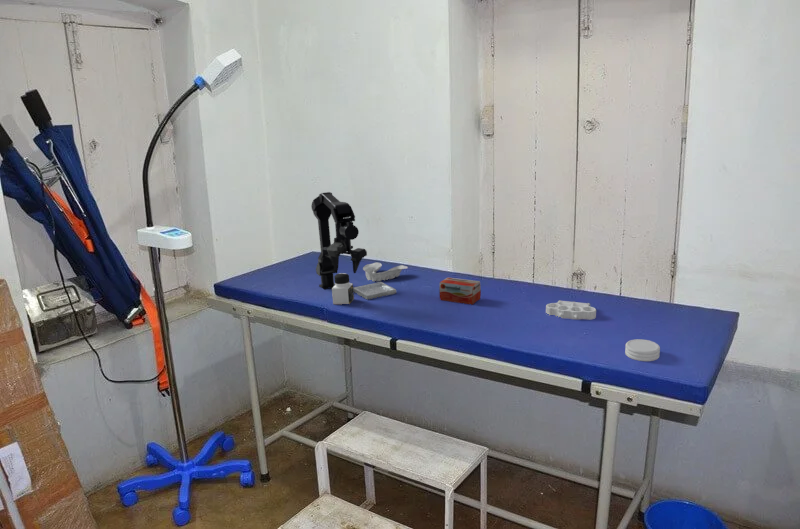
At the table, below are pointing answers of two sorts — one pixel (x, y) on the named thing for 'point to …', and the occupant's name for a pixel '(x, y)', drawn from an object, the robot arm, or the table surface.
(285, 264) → the table surface
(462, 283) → the medicine box
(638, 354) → the white round container
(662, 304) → the table surface
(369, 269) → the dental model
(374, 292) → the tray
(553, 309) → the grey holed plate
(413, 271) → the table surface
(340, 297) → the medicine bottle
